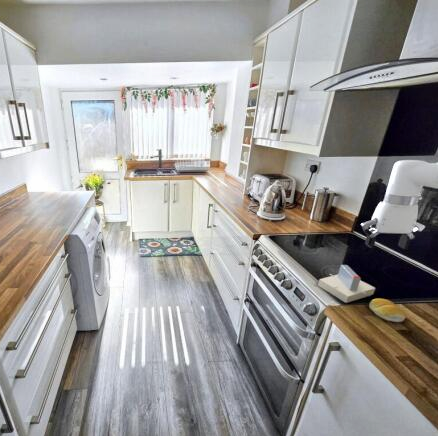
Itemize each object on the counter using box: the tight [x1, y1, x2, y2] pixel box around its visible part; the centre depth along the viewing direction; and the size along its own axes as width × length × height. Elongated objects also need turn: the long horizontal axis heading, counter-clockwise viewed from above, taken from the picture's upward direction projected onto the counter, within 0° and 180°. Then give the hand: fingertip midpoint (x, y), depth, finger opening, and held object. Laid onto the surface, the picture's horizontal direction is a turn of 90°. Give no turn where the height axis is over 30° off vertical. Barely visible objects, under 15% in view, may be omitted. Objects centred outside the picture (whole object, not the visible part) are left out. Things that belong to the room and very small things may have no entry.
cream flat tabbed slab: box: [317, 273, 376, 304], centre depth 93 cm, size 14×13×3 cm
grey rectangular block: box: [337, 264, 362, 291], centre depth 91 cm, size 9×2×6 cm, turn 167°
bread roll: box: [368, 298, 407, 323], centre depth 81 cm, size 8×9×4 cm
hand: (385, 247), depth 83 cm, fingers open, 9 cm apart
